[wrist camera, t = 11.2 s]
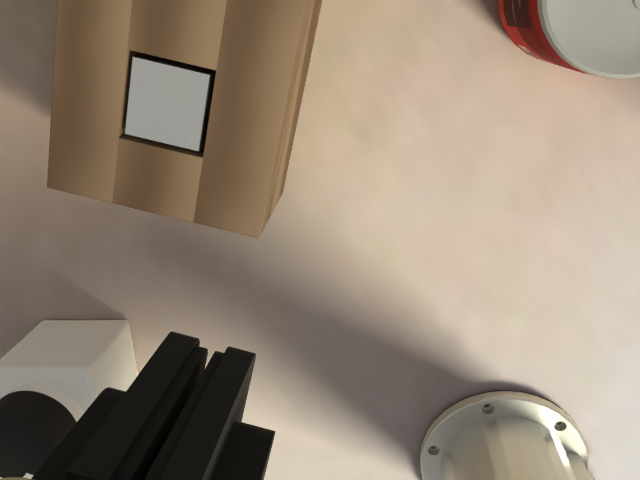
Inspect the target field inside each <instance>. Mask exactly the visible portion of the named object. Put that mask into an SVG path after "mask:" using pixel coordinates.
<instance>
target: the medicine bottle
mask: <svg viewBox="0 0 640 480" xmlns="http://www.w3.org/2000/svg"><path fill="white" fill-rule="evenodd" d="M137 376H138V369H137V364H136V358H135V353H134V347H133V342H132V336H131V331H130V325H129V322H128V321H127V320H44V321H41V322H40V323H39V324H38V325H37V326H36V327H35V328H34V329H33V330H32V331H31V332H29V333H28V334H27V335H26V336H25V337H24V338H23V339H22V340H21V341H20V342H19V343H17V344H16V345H15V346H14V347H13V348H12V349H11V350H10V351H9V352H8V353H7V354H6V355H4V356H3V357H2V358H1V359H0V479H1V478H7V477H23V478H29V479H31V478H32V477H33V476H34V475H35V473H36V472H37V471H38V470H39V468H40V467H41V466H42V465H43V463H44V462H45V461H46V460H47V458H48V457H49V456H50V455H51V453H52V452H53V451H54V450H55V449H56V447H57V446H58V445H59V444H60V442H61V441H62V440H63V439H64V437H65V436H66V435H67V434H68V432H69V431H70V430H71V429H72V427H73V426H74V425H75V424H76V423H77V421H78V420H79V419H80V418H81V416H82V415H83V414H84V413H85V411H86V410H87V409H88V408H89V406H90V405H91V404H92V403H93V402H94V400H95V399H96V398H97V397H98V395H99V394H100V393H101V392H102V391H103V390H104V389H105V388H108V387H110V388H114V389H118V390H122V391H127V389H128V388H129V387H130V385H131V384H132V383H133V381H134V380H135V379H136V377H137Z"/></svg>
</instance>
